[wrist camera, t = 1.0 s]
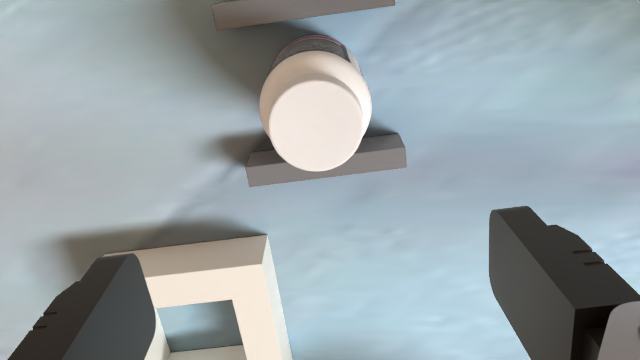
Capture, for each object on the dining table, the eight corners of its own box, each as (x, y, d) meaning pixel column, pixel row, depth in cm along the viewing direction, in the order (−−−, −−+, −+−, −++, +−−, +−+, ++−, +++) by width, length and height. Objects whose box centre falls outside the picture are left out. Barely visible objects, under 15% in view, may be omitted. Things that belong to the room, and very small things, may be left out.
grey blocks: (386, -22, 26) (393, -21, 24) (400, 152, 30) (406, 167, 28) (220, 2, 27) (211, 5, 24) (254, 170, 31) (249, 186, 28)
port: (267, 234, 32) (261, 267, 29) (293, 363, 37) (290, 406, 33) (104, 254, 33) (78, 289, 29) (149, 379, 37) (130, 422, 34)
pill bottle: (251, 72, 28) (223, 114, 20) (324, 14, 27) (326, 33, 19) (308, 142, 30) (304, 207, 22) (379, 90, 29) (403, 138, 20)
